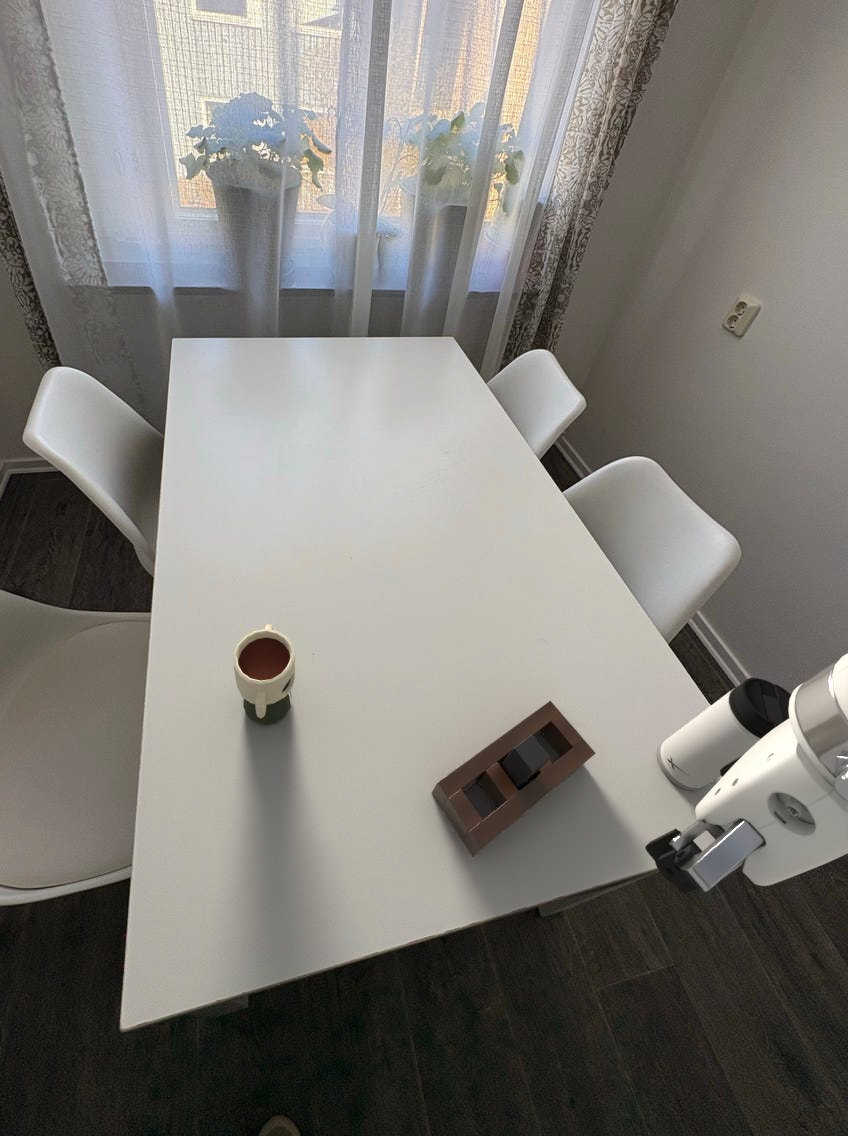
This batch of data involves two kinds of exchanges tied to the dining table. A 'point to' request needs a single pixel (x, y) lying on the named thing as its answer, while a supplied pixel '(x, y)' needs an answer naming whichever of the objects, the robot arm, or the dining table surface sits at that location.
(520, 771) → the peg
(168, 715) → the dining table surface
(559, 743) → the holder
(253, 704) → the character mug
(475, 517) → the dining table surface
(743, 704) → the travel mug
